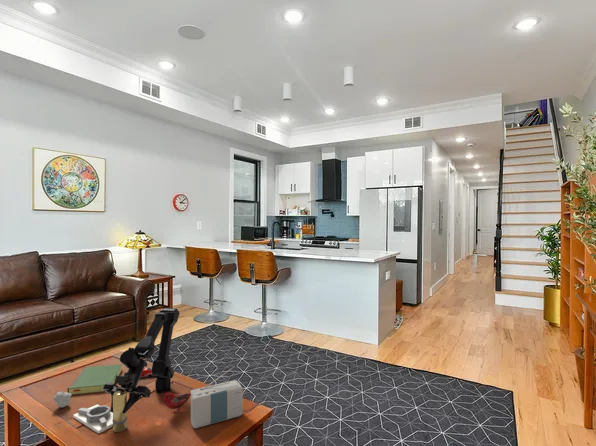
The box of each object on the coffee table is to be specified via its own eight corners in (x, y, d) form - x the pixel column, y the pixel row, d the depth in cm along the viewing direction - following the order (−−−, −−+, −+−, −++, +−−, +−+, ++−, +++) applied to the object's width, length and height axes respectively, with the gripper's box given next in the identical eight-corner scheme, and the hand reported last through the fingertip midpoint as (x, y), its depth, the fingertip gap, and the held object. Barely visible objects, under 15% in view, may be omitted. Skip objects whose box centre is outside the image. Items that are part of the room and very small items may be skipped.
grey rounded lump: (51, 407, 157) (51, 392, 157) (69, 401, 163) (69, 386, 163) (55, 412, 153) (55, 396, 153) (73, 406, 159) (73, 390, 158)
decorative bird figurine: (160, 417, 151) (159, 393, 150) (196, 401, 164) (196, 379, 164) (163, 419, 149) (163, 396, 148) (199, 403, 162) (199, 381, 162)
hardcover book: (84, 374, 192) (84, 367, 192) (122, 370, 197) (122, 364, 197) (67, 397, 168) (66, 389, 168) (110, 392, 172) (110, 384, 172)
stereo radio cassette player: (193, 431, 141) (193, 381, 140) (189, 421, 148) (189, 373, 148) (243, 417, 151) (243, 371, 150) (237, 408, 158) (237, 363, 158)
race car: (128, 380, 185) (128, 372, 185) (131, 375, 190) (131, 368, 190) (155, 377, 188) (155, 370, 188) (157, 373, 193) (157, 366, 193)
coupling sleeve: (127, 423, 146) (127, 389, 146) (127, 430, 141) (127, 395, 141) (112, 426, 143) (112, 392, 143) (112, 433, 139) (112, 398, 138)
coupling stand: (97, 407, 158) (97, 398, 158) (123, 421, 147) (122, 412, 147) (73, 417, 150) (73, 408, 150) (98, 433, 139) (98, 424, 139)
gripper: (105, 363, 147) (85, 404, 136) (146, 367, 144) (130, 408, 133) (118, 374, 155) (100, 412, 144) (157, 377, 152) (142, 417, 141)
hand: (117, 412), depth 141 cm, fingers closed on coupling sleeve, 5 cm apart
